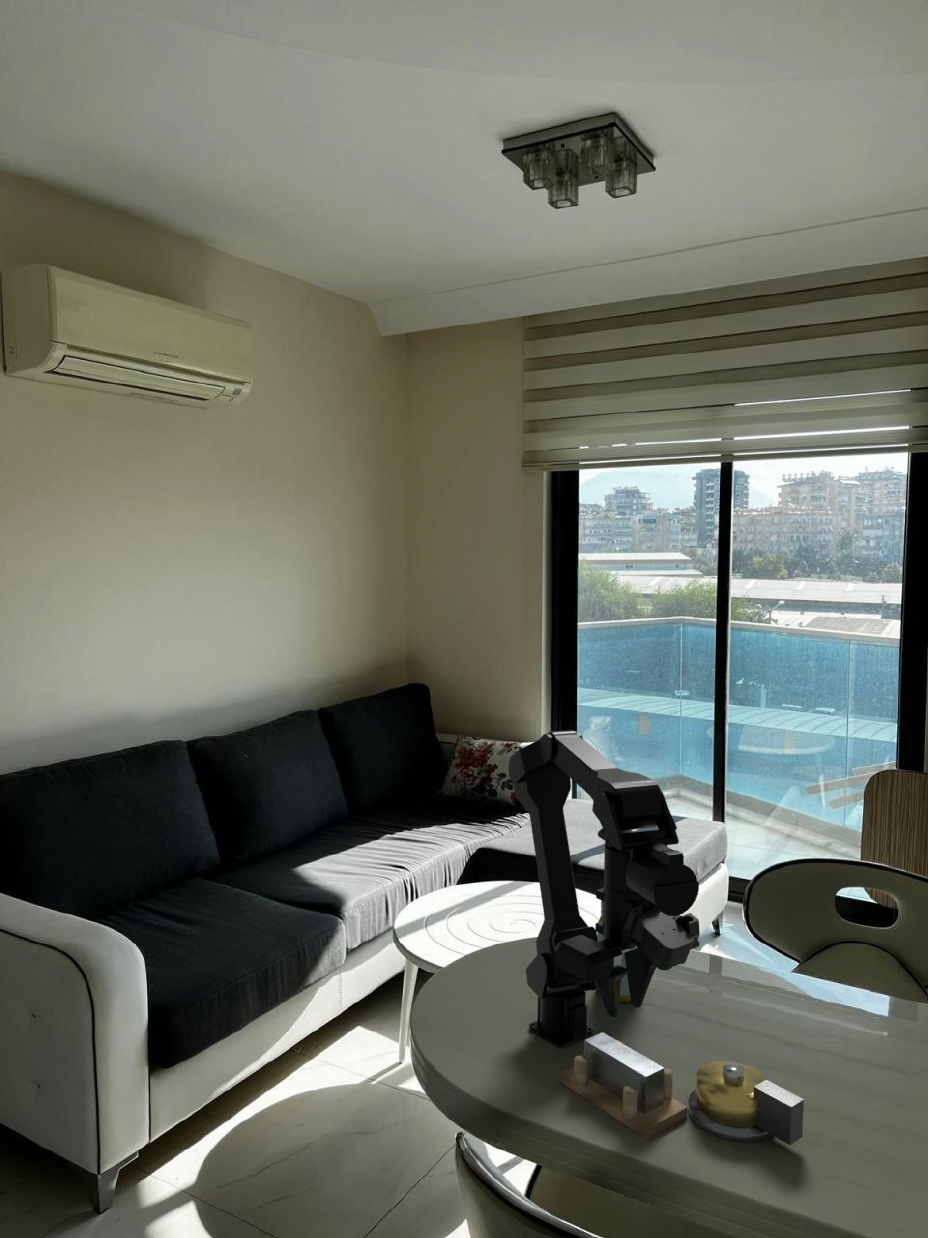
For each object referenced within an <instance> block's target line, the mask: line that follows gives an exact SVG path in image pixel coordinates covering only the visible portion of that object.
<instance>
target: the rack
mask: <svg viewBox="0 0 928 1238" xmlns="http://www.w3.org/2000/svg"><path fill="white" fill-rule="evenodd" d="M616 1040H617V1041H619V1042H620V1043H622V1044H624V1043H623V1042H622V1041H621V1040H618V1039H616ZM673 1073H674V1072H673V1071H672V1070H671V1069H670V1068H666V1067H664V1099H663V1105H661V1106H660V1107H658V1108H656V1109H654V1110H652V1111H650V1112H648V1113H646V1114H644V1113H642V1112H641V1111H639V1110H638V1109H637V1091H638V1090H637V1089H636V1088H635V1087H633V1086H626V1087H624V1089H623V1100H622V1099H620V1098H619V1097H617V1096H616V1095H614V1094H613V1093H611V1092H609V1091H608V1090H606V1089H605V1088H603V1087H602V1086H600V1085H598V1084H597V1083H595V1082H594V1081H592V1080H591V1079H589V1078H587V1074H588V1059H587V1058H586V1057H584V1055H577V1056H575V1057H574V1066H573V1067H571V1068H569V1069H567V1070H565V1071H562V1072H561V1074H560V1076H561V1077H560V1082H561V1083H562V1084H564V1086H566V1087H568V1088H569V1089H571V1090H573V1091H574V1092H575V1093H577V1094H578V1095H579V1096H581V1097H582V1098H584V1099H586V1100H588V1101H589V1102H590V1103H591V1104H593V1105H595V1106H596V1107H598V1108H599V1109H601V1110H602V1111H604V1112H606V1113H607V1114H609V1116H611V1117H613V1118H614V1119H616V1120H617V1121H619V1122H620V1123H622V1124H623V1125H625V1126H626V1127H628V1128H630V1129H631V1130H632V1131H634V1132H636V1133H637V1134H638V1135H641V1136H642V1137H643V1138H644V1139H646V1140H648V1139H650V1138H652V1137H653V1136H655V1135H657V1134H659V1133H661V1132H663V1131H665V1130H666V1129H668V1128H670V1127H672V1126H673V1125H675V1124H677V1123H678V1122H680V1121H682V1120H684V1119H686V1118H688V1106H687V1105H685V1104H683V1103H682V1102H680V1101H678V1100H676V1099H675V1098H674V1097H673V1082H674V1081H673V1079H674V1078H673V1077H674V1076H673V1075H674V1074H673Z"/></svg>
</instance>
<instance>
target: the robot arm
mask: <svg viewBox="0 0 928 1238" xmlns="http://www.w3.org/2000/svg"><path fill="white" fill-rule="evenodd" d="M508 775H509V779H510V782H512V786H513V789H514V791H513V792H514V795H515V797H516V799H517V800H518V801H519V803H520V804H521V805H522V806H523V808H524V809H525V810H526V812H528V815H529V820H530V827H531V833H532V840H533V846H534V847H533V848H534V853H535V855H534V856H535V861H536V869H537V875H538V882H539V888H540V896H541V901H542V902H541V903H542V909H543V917H544V918H543V919H544V920H543V922H542V925H541V928H540V930H539V933H538V936H537V938H536V942H535V946H536V956H535V957H534V958H533V960H532V961H531V962H530V963H529V964H528V966H527V967H526V968H525V974H526V975H525V976H526V984H527V986H528V987H529V988H530V989H531V990H532V991H533V993H534V994H535V995H536V996H537V1016H536V1017H537V1020H534V1021H533V1022H530V1023H529V1024H528V1027H529V1029H530V1030H531V1031H533V1032H534V1033H535V1034H538V1035H539V1036H541V1037H543V1038H544V1039H546V1040H548V1041H549V1042H551V1043H552V1044H554V1045H555V1046H557V1047H558V1048H559V1047H560V1048H561V1047H564V1046H567V1045H569V1044H571V1043H573V1042H576V1041H578V1040H580V1039H582V1038H585V1037H587V1036H589V1035H591V1034H593V1033H594V1029H593V1028H592V1027H591V1026H589V1025H587V1022H588V1021H587V1019H588V1018H587V1017H588V1006H587V1004H586V1002H587V1001H586V999H587V992H588V991H589V992H590V991H597V993H598V994H599V996H600V1000H602V1003H603V1006H604V1008H605V1010H606V1013H607V1015H608V1016H610V1017H612V1018H613V1019H615V1018H617V1017H618V1012H619V1007H620V1002H619V998H620V986H621V978H622V977H624V976H625V975H626V974H627V978H628V985H629V992H630V997H631V1005H632V1006H634V1007H636V1008H642V1004H643V1002H644V999H645V997H646V994H647V991H648V989H649V986H650V983H651V981H652V978H653V976H654V974H655V971H656V969H658V970H661V971H669V970H671V969H672V968H673V967H677V966H679V965H684V964H685V963H686V962H687V960H688V957H689V954H690V952H691V951H692V950H695V949H696V948H699V946H700V941H699V938H700V934H701V932H700V931H701V930H700V920H699V918H697V916H695V915H694V914H693V913H691V912H689V913H687V912H688V911H689V910H690V908H692V907H693V905H694V904H695V902H696V901H697V898H698V894H699V889H700V883H699V882H698V878H697V876H696V874H695V872H694V870H693V869H691V868H690V867H689V866H687V864H684V861H685V860H684V859H685V858H684V857H685V855H684V853H682V852H681V851H679V850H676V849H672V848H671V847H668V846H672V845H673V846H674V845H678V844H679V841H680V840H679V837H678V834H677V831H676V830H677V829H678V827H677V824H676V822H675V820H674V818H673V816H672V813H671V811H670V809H669V805H668V804H667V800H666V797H665V795H664V792H663V791H662V789H661V787H660V785H659V784H658V783H657V782H656V781H655V780H654V779H652V778H651V777H648V776H646V775H644V774H641V773H639V772H633V771H627V770H623V769H621V768H619V767H617V766H616V765H615V764H614V763H612V762H611V761H610V760H609V759H607V758H606V757H605V756H604V755H602V754H601V752H600V751H597V749H595V748H594V747H593V746H592V745H590V744H589V743H588V742H587V741H585V740H584V737H583V735H582V734H581V733H580V732H578V731H575V730H573V729H572V730H557V731H556V730H555V731H548V732H547V733H544V734H543V735H542V736H541V737H540V738H538V740H535V741H534V742H532V743H530V744H528V745H525V746H523V747H521V748H520V749H519V750H517V752H515V754H514V755H513V756H512V758H511V759H510V760H509V763H508ZM571 780H572V781H573V782H574V783H576V784H577V786H579V788H581V789H582V790H583V791H584V792H585V793H586V794H587V795H588V796H589V797H590V798H591V799H592V810H591V811H592V813H593V814H594V815H595V817H596V818H597V820H598V821H599V823H600V824H601V827H602V828H601V829H599V830H598V832H597V836H598V838H599V839H602V840H603V841H604V863H603V864H604V865H603V866H604V869H603V870H604V871H603V887H602V888H599V889H596V892H595V898H596V899H598V900H600V901H601V900H602V901H603V921H601V922H599V921H598V922H595V924H594V925H595V926H594V925H593V926H592V925H591V926H589V925H588V924H587V922H586V921H585V920H584V919H583V917H582V916H581V914H580V909H579V903H578V897H577V891H576V883H575V878H574V870H573V864H572V858H571V857H572V856H571V852H570V844H569V839H568V832H567V826H566V819H565V813H564V806H565V805H566V803H567V799H568V797H569V794H570V791H571V789H572V782H571ZM656 827H657V828H658V829H651V828H656ZM649 828H650V829H651V830H650V829H649ZM640 829H641V830H642V829H649V830H642V831H634V830H640ZM685 913H686V914H685ZM597 932H598V933H600V934H602V935H603V938H604V940H601V941H598V939H597ZM623 953H624V956H625V963H626V968H624V967H622V966H621V961H622V956H623Z"/></svg>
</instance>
